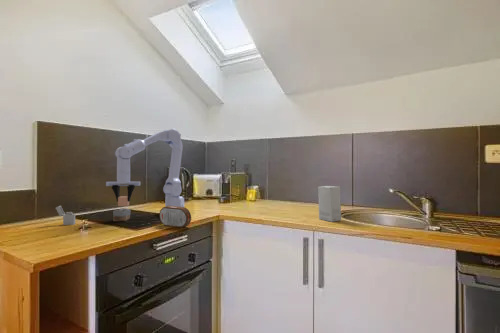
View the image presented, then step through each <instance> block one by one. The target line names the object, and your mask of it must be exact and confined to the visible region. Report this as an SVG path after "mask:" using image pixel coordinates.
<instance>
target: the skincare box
mask: <svg viewBox="0 0 500 333" xmlns="http://www.w3.org/2000/svg"><path fill="white" fill-rule="evenodd" d="M317 190H318V191H317V195H318V220H321V219H322V221H327V222H331V223H334V222H338V221H340V222H341V221H342V209H341V208H342V206H341V186H337V185H336V186H333V185H324V186H317Z"/></svg>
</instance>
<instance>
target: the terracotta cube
mask: <svg viewBox="0 0 500 333" xmlns="http://www.w3.org/2000/svg"><path fill="white" fill-rule="evenodd" d="M128 206H130V201H128V195H124V196H123V195H121V196H120V197H118V202H117V207H128Z"/></svg>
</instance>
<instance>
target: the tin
mask: <svg viewBox="0 0 500 333" xmlns="http://www.w3.org/2000/svg"><path fill="white" fill-rule="evenodd" d="M159 220H160V222H161V224H163V225H164V226H166V227H172V228H179V229H180V228H185V227H188V226H189V225H190V224H191V221H192V214H191V212H190V210H189V209H188V208H187V207H185V206H184V207H179V206H166V207H165V206H164V207H162V208H161V209H160V210H159Z"/></svg>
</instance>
